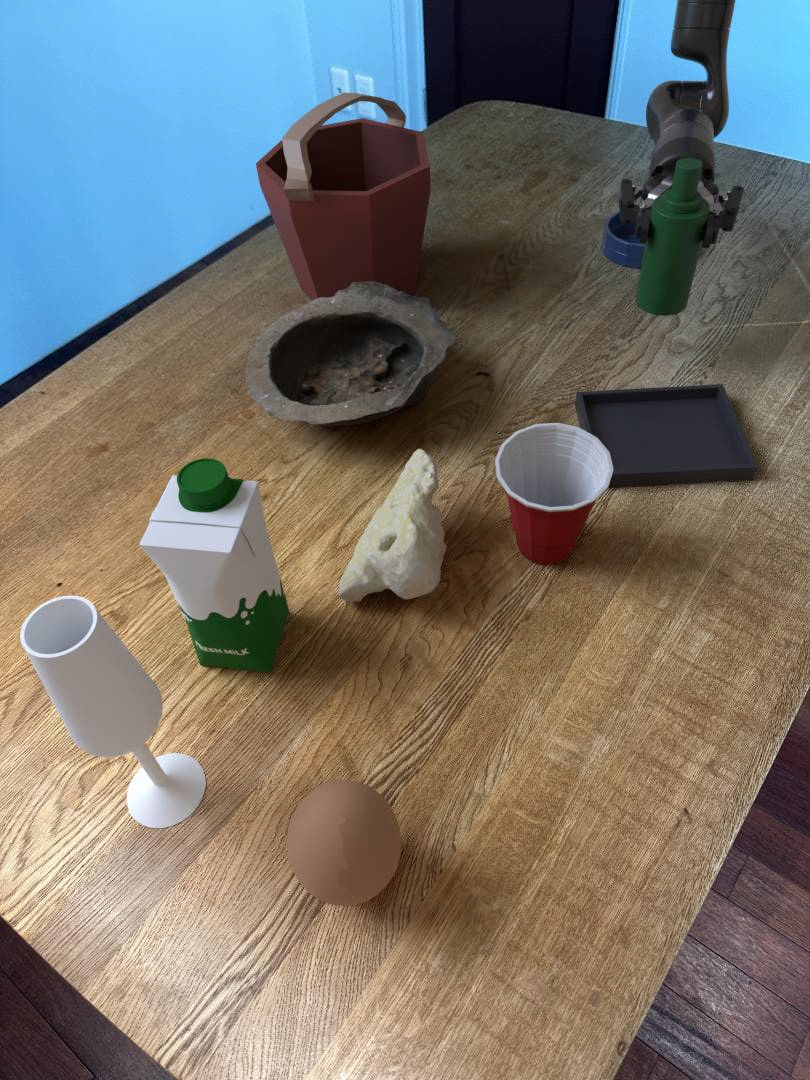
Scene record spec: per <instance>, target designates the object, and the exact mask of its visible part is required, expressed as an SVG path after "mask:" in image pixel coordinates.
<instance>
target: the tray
mask: <svg viewBox="0 0 810 1080" xmlns="http://www.w3.org/2000/svg"><path fill="white" fill-rule="evenodd" d="M574 407H575V411H576V415H577V419H578V420H577V421H578V424H579V428H581V429H583V430H585V431H586V432H588V433H590V434H592V435H593V436H595V437H597V438H598V439H599V440H600V441H601V443H602V444H603V445H604V446H605V448H606V449H607V450H608V451H609V452H610V456H611V461H612V465H613V469H614V470H613V473H612V476H611V479H610V483H609V486H608V488H623V487H625V488H627V487H644V486H645V487H646V486H663V485H664V486H665V485H685V484H705V483H706V482H708V483H718V482H717V481H728V482H742V481H743V480H748V481H754V480H755V477H756V474H757V472H758V469H759V465H758V463H757V461H756V458H755V456H754V454H753V452H752V449H751V447H750V445H749V441H748V440H747V437H746V435H745V433H744V431H743V428H742V426H741V424H740V421H739V418H738V416H737V414H736V412H735V409H734V407H733V405H732V403H731V401H730V398H729V395H728V393H727V391H726V388H725V386H724V384H723V383H718V384H717V383H716V384H700V385H699V384H698V385H679V386H665V387H664V386H662V387H644V388H643V387H642V388H625V389H607V390H592V391H591V390H588V391H587V390H586V391H576V393H575V402H574ZM738 480H740V481H738ZM741 480H742V481H741ZM714 481H715V482H714ZM704 482H705V483H704ZM743 482H744V481H743Z"/></svg>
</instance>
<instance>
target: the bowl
mask: <svg viewBox="0 0 810 1080" xmlns="http://www.w3.org/2000/svg"><path fill="white" fill-rule="evenodd" d="M603 226H604V227H603V233H602V241H601V251H602V252H603V255H604V256H605V257H606V258H607V259H608V260H610V261H611V262H612V263H615V264H617V265H620V266H622V267H624V268H625V267H626V268H633V269H639V270H641V265H642V260H643V254H644V248H645V243H640V239H639V238H635V236H634V234H635V228H636V224H635V223H634V222H631V223H629V224H622V223H621V222H620V212H619V210H618V211H616V212H614V213H612V214H610V216H608V217H607V218H606V221H605V223H604V225H603Z"/></svg>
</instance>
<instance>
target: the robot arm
mask: <svg viewBox="0 0 810 1080" xmlns="http://www.w3.org/2000/svg"><path fill="white" fill-rule="evenodd" d="M736 1H737V0H677V1H676V8H675V14H674V20H673V27H672V28H673V29H672V34H671V40H670V52H671V54H672V55H673V56H674V57H676V58H677V59H678V58H679V59H682V60H685V61H689V62H693V63H695V64H696V63H697V64H698V65H700V66H701V67H703V68H704V71H705V74H706V80H679V79H678V80H675V79H673V80H666V81H664V82H661V83H660V84H658V85H657V86H656V87H654V89H653V90H652V92H651V93H650V95H649V97H648V100H647V102H646V109H645V122H646V128H647V132H648V134H649V137H650V139H651V140H652V143H653V144H654V148H653V151H652V154H651V159H650V164H649V167H648V172H649V173H648V180H647V181H645V182H644V183H643V185H636V184H633V181H632V179H628V178H623V179H622V180H621V182H620V187H619V194H618V211H619V212H620V222H621V223H622V224H629V223H631V222H634V223H635V224H636V228H635V234H634V236H635V238H639V239H640V243H646V241H647V235H648V230H649V223H650V215H651V209H652V203H653V201H654V199H655V198H657V197H658V196H660V195H662V194H664V193H665V192H666V191H667V190H669V189H672V184H673V179H674V174H675V169H676V164H677V161H678V160H680V159H682V158H695V159H698V160H700V161H701V162H702V164H703V165H702V169H701V174H700V178H699V183H698V188H697V191H698V192H699V193H700V194H701V195H702V197H703V198H704V199H706V200H707V201H708V203H709V205H710V209H709V213H708V218H707V222H706V226H705V231H704V235H703V239H702V243H701V248H702V249H710V246H711V245H715V244H716V243H717V240H718V237H719V232H720V229H721V230H722V231H723V232H732V231H733V230H734V226H735V223H736V219H737V216H738V212H739V209H740V206H741V202H742V199H743V194H744V190H745V188H744V187H743V186H742V185H734V186H733V187H732V189H731V190H727V191H726V190H720V188H719V186H718V185H717V184H716V183H715V180H716V178H715V176H716V149H715V141H714V140H715V139H716V138H717V137H718V136H719V135H720V134H721V133H722V131H723V130H724V128H725V127H726V125H727V123H728V119H729V114H730V97H729V84H728V67H727V63H728V62H727V59H728V58H727V57H728V46H729V39H730V32H731V28H732V23H733V22H732V21H733V17H734V11H735V6H736ZM639 198H641V199H642V200H643V201H641V202H640V203H639V204H635V202H637V201H638V199H639ZM717 203H718V204H720V206H721V207H722V209H721V208H720V206H718V204H717Z"/></svg>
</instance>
